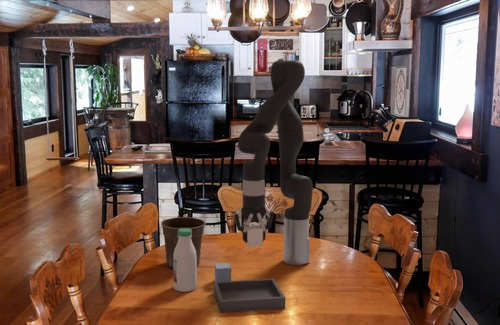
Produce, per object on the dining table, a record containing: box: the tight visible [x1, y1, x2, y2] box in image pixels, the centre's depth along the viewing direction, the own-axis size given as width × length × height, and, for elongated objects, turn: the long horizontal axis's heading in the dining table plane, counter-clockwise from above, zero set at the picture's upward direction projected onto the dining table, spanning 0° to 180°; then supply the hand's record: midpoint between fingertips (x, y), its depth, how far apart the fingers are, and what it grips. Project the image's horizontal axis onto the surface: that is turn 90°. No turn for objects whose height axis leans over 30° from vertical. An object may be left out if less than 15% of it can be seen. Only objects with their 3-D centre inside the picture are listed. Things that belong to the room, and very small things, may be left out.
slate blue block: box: [214, 262, 232, 282], centre depth 195 cm, size 5×5×6 cm
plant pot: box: [160, 216, 206, 268], centre depth 212 cm, size 16×16×16 cm
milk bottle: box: [172, 228, 198, 293], centre depth 189 cm, size 8×8×20 cm
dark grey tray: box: [213, 278, 286, 314], centre depth 181 cm, size 20×16×4 cm
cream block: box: [245, 224, 264, 248], centre depth 193 cm, size 5×5×6 cm
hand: (253, 241), depth 193 cm, fingers closed on cream block, 5 cm apart
